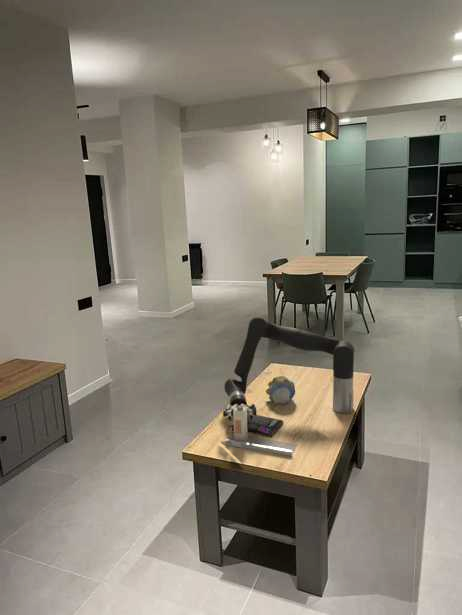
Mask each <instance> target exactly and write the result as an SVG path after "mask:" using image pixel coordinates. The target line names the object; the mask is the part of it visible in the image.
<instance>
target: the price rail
mask: <svg viewBox="0 0 462 615" xmlns="http://www.w3.org/2000/svg"><path fill="white" fill-rule="evenodd" d="M224 445H225V446H227V445H229V446H228V447H232V446H235V447H234V448H238V447H240V448H239V449H244V448H246V450H249V449H251V450H250V451H255V450H257V451H256V452H260V451H263V452H262V453H266V452H268V453H267V454H272V453H274V455H277V454H279V455H278V456H283V455H285V457H288V456H293V455H292V450H287V449H281V448H275V447H269V446H263V445H258V444H252V443H246V442H240V441H235V440H230V439H228V438H225V441H224Z"/></svg>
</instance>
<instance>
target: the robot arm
mask: <svg viewBox="0 0 462 615" xmlns="http://www.w3.org/2000/svg"><path fill="white" fill-rule="evenodd" d="M262 338H263V339H264V338H265V339H269V340H275V341H277V342H280V343H282V344H284V345H287V346H289V347H292V348H295V349H298V350H301V351H302V350H303V351H306V352H323V353H327V354H329V355H333V356H332V357H333V358H332V370H333V372H332V373H333V376H332V378H333V379H332V387H333V388H332V410H333V411H334V412H336V413H339V414H352V412H353V409H354V395H355V394H354V391H355V389H354V372H355V371H354V365H355V363H354V361H355V356H354V355H355V347H354V346H353V344H352V343H351V342H349V341H346V340H342V339H335V338H330V337H327V336H324V335H320V334H317V333H313V332H310V331H308V330H304V329H301V328H298V327H297V328H295V327H292V326H281V325H278V324H276V323H273V322H270V321H268V320H266V319H265V318H263V317H261V316H255V317H253V318H251V320H250V321H249V323H248V328H247V334H246V338H245V340H244V344H243V347H242V350H241V353H240V355H239V358H238V359H237V363H236V365H235V367H234V373H233V374H235V375H236V376H238V377H240V381H239V380H237V379H234V378H229V379H227V380H226V381H225V383H224V391H225V393H226V395H227V396H228V397H229V402H228V403H229V406H228V407H227V406H226V405H223V407H222V416H223V418H226V417H227V420H229V421H230V422H231V421H232V417H234V415H233V409H234V408H236V407H237V406H243V407H245V408H246V409H247V415H249V417H250V420H252V418H253V415H258V414H257V407H256V405H255V404H254V403H252V404H251V405H248V403H247V397H246V395H245V394H246V391H247V385H248V384H247V382H248V376H249V373H250V370H251V367H252V365H253V363H254V359H255V356H256V355H255V354H256V350H257V347H258V345H259V342H260V340H262Z"/></svg>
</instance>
